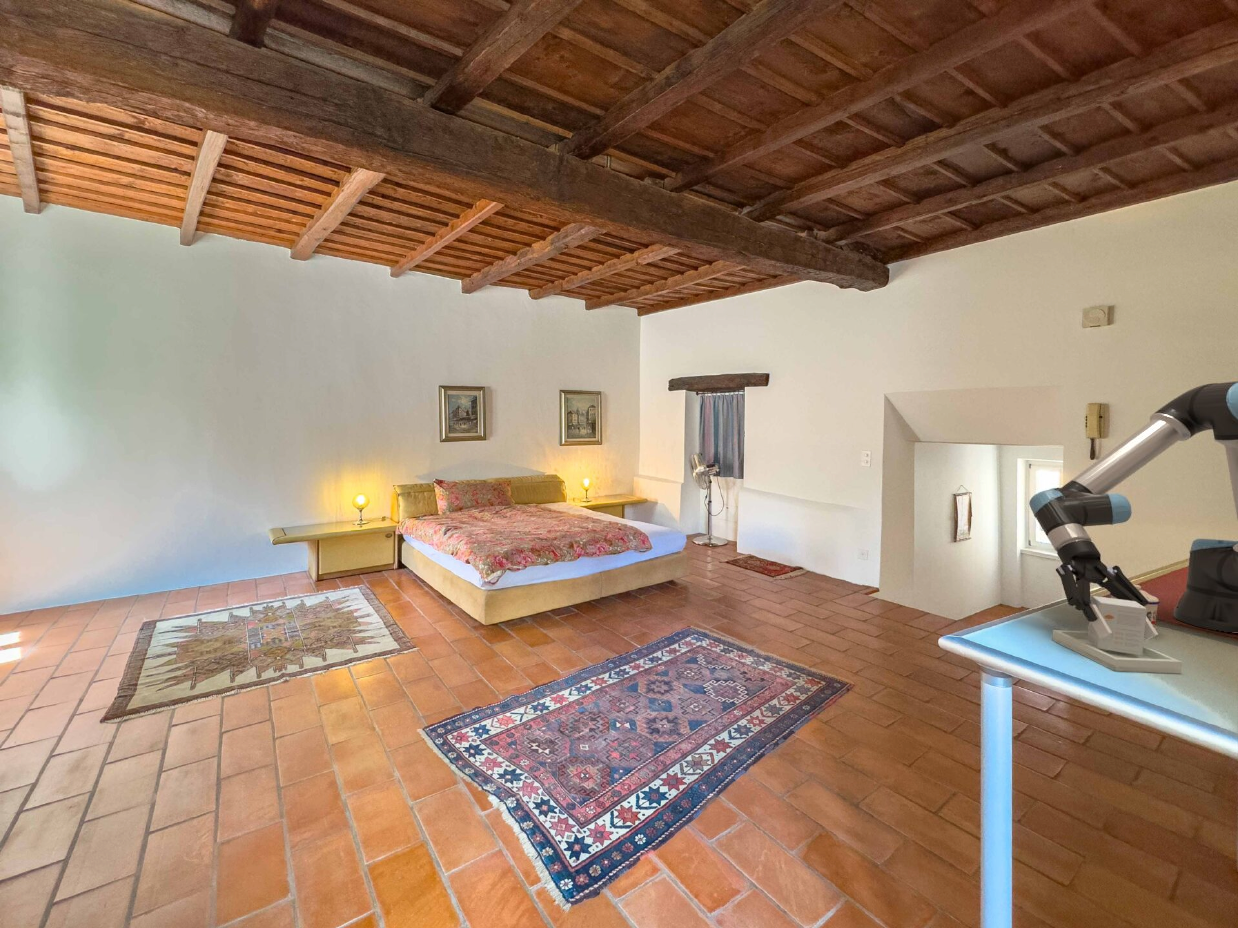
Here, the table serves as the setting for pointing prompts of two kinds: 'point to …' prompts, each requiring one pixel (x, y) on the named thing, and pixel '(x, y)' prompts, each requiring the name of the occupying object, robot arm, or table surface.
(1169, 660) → the sage tray
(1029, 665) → the table surface
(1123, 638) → the small box
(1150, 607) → the teacup with lid
